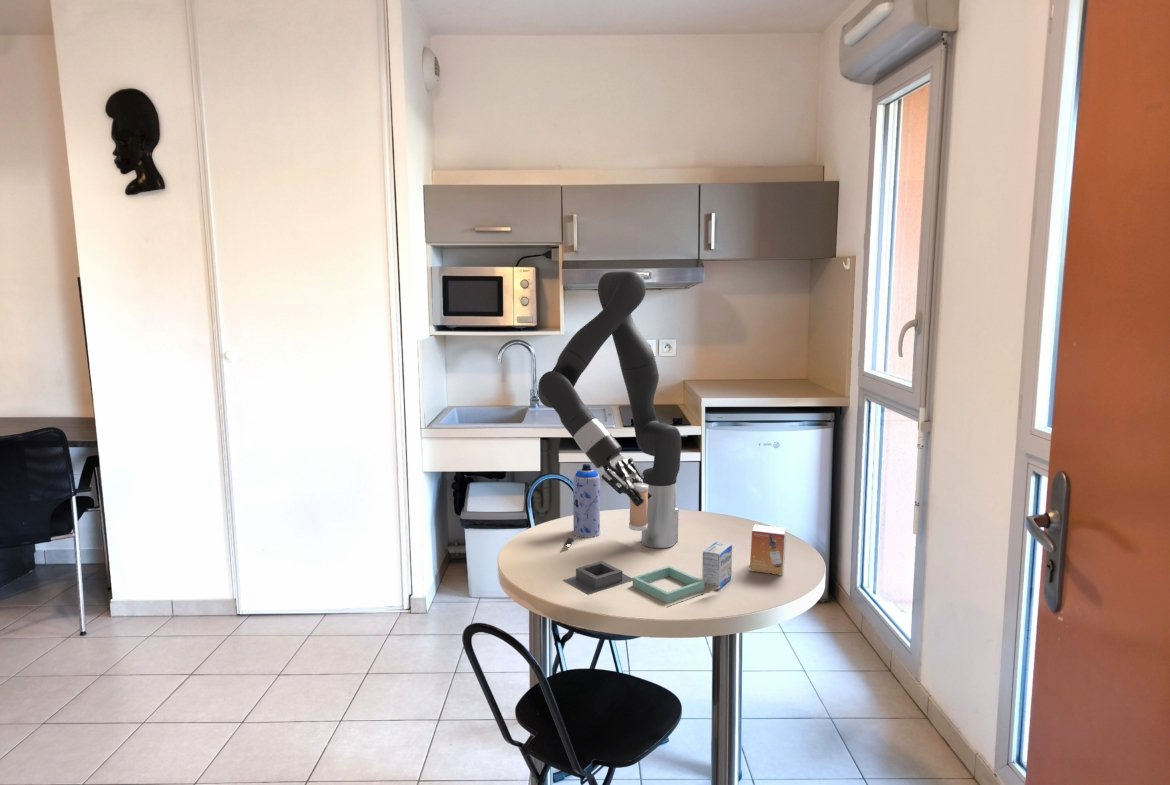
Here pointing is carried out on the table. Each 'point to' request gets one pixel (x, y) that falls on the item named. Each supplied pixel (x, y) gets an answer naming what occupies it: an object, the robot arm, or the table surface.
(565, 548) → the claw hammer
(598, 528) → the aerosol can
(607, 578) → the grey square socket stand
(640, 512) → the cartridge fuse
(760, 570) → the small box
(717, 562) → the medicine box
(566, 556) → the table surface
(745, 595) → the table surface
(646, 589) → the parts tray
